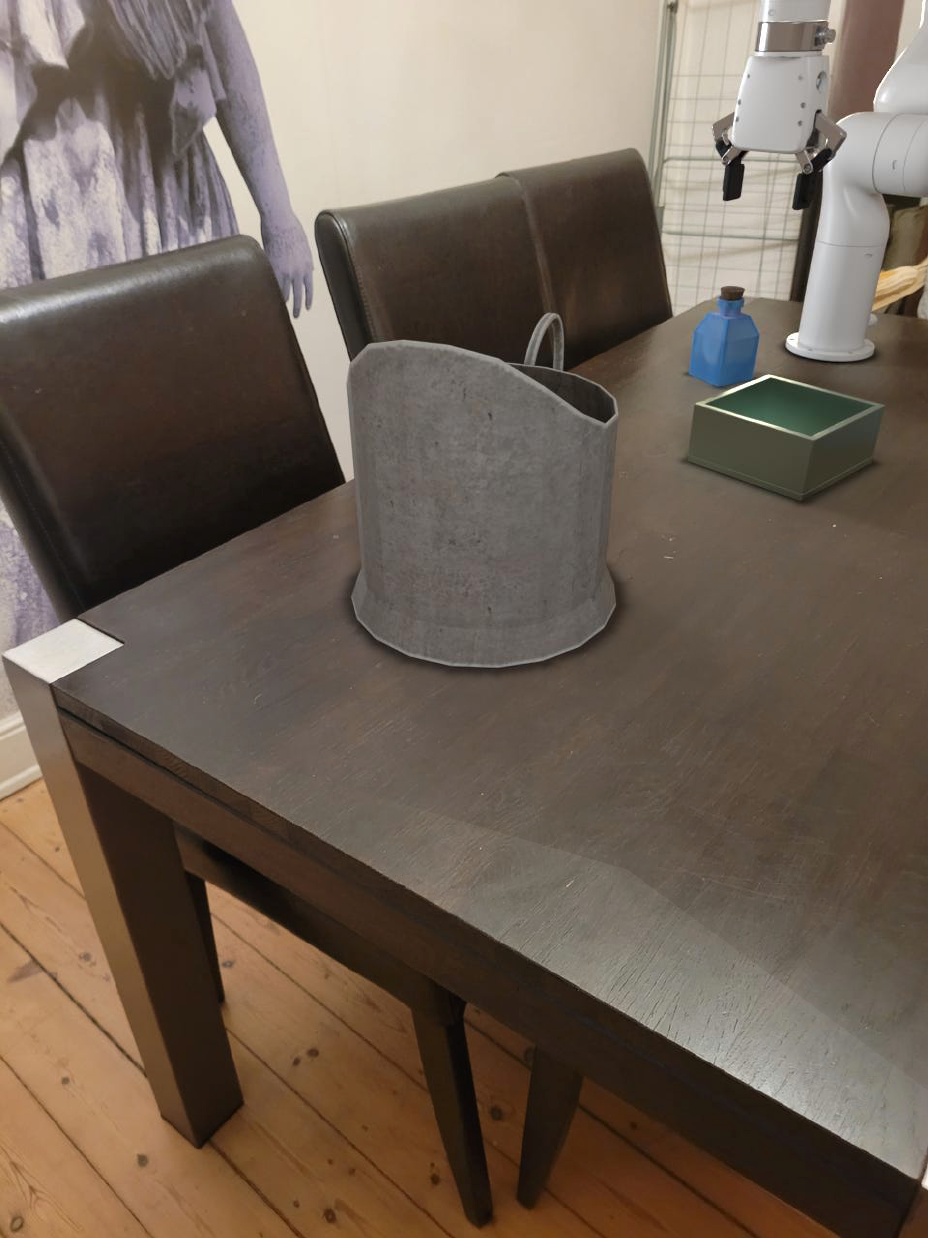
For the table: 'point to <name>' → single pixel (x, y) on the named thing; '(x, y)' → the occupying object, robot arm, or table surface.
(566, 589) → the coal scuttle
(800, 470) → the basket
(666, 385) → the table surface
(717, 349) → the perfume bottle
